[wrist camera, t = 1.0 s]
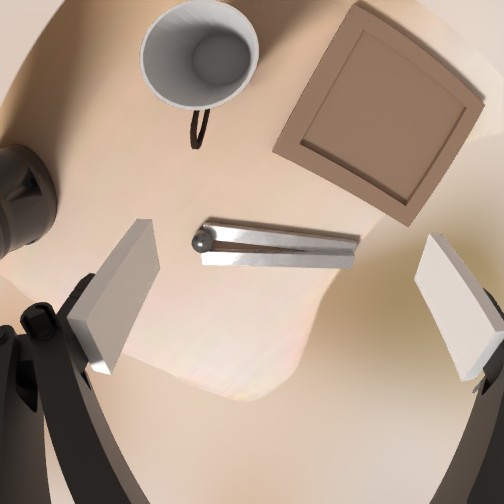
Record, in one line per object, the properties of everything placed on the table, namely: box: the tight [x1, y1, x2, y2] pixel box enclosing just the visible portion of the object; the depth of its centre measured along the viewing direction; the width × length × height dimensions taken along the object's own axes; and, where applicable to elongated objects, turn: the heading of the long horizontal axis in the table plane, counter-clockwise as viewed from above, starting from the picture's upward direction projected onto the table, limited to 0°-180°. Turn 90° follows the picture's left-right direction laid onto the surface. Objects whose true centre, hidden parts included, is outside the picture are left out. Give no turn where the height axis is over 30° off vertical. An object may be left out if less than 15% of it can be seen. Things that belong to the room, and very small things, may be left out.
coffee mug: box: [140, 0, 259, 149], centre depth 23 cm, size 12×9×10 cm
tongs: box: [192, 222, 357, 269], centre depth 37 cm, size 19×5×2 cm, turn 85°
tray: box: [272, 4, 485, 227], centre depth 28 cm, size 18×18×1 cm
